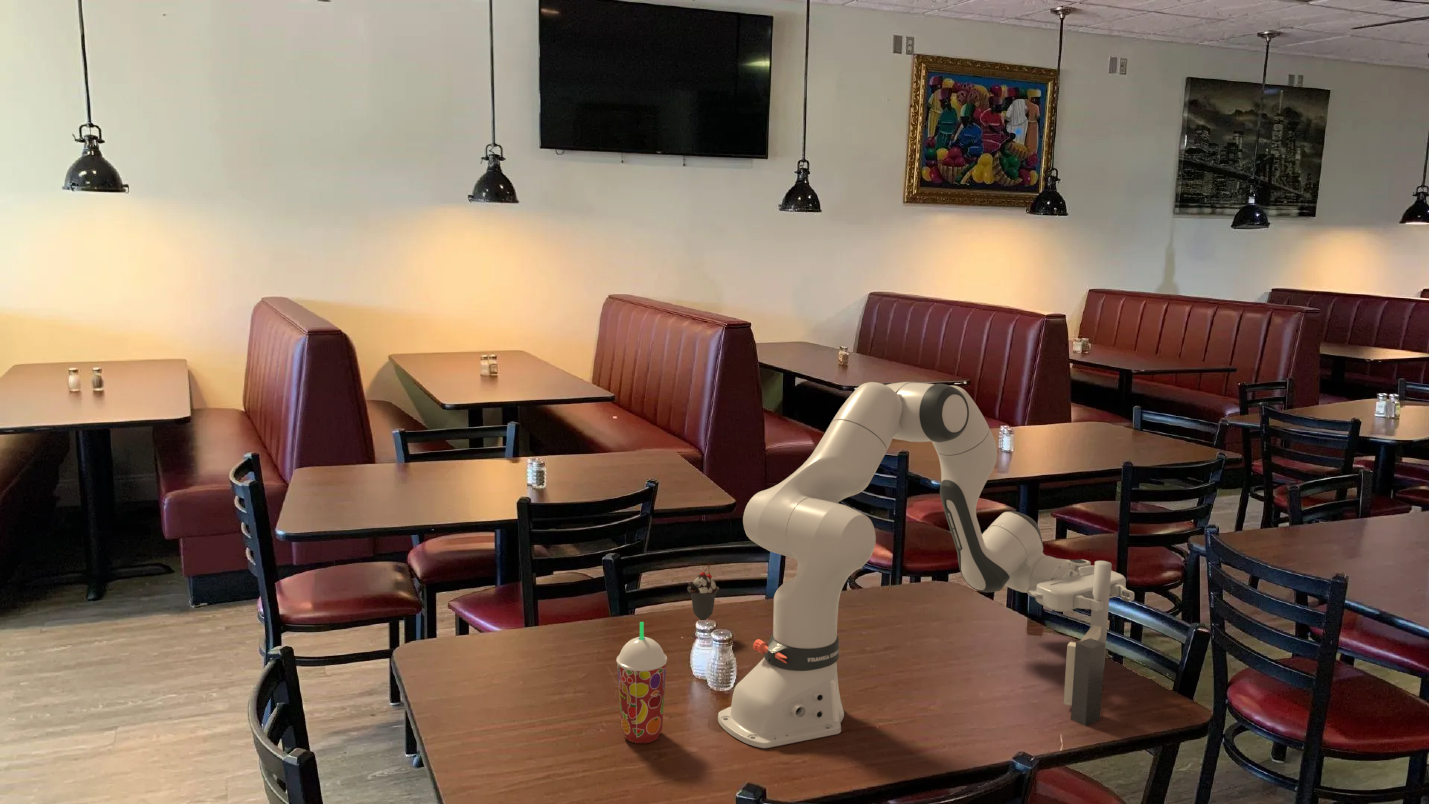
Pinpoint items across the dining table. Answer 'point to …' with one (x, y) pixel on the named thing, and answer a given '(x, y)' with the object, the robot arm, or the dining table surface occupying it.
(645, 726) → the smoothie
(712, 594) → the sundae
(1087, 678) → the hinge post
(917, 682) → the dining table surface
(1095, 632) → the gate
